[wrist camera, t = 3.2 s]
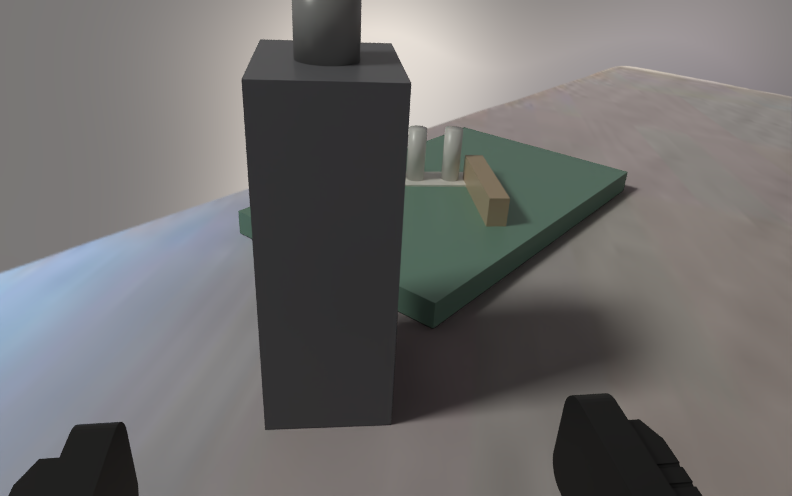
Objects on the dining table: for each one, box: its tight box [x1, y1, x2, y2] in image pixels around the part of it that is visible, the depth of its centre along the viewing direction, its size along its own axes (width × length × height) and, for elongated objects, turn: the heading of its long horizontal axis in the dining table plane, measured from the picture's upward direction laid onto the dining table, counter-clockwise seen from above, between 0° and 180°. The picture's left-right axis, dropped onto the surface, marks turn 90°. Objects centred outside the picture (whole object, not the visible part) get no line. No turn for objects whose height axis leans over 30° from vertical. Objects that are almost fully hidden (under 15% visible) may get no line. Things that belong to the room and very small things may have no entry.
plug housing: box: [242, 0, 411, 430], centre depth 19 cm, size 4×5×13 cm
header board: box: [238, 126, 628, 328], centre depth 34 cm, size 20×12×4 cm, turn 141°
